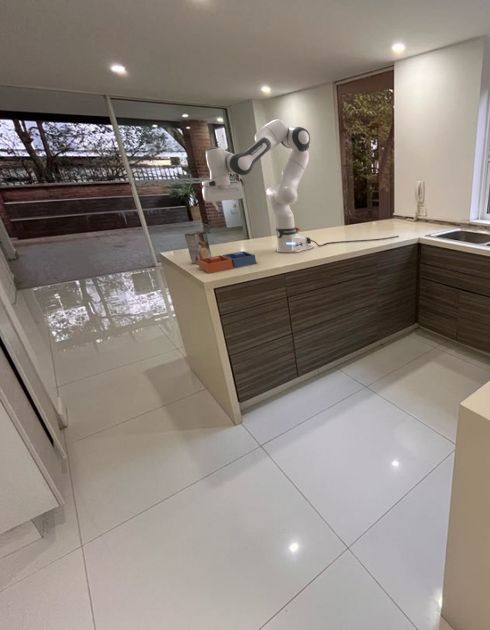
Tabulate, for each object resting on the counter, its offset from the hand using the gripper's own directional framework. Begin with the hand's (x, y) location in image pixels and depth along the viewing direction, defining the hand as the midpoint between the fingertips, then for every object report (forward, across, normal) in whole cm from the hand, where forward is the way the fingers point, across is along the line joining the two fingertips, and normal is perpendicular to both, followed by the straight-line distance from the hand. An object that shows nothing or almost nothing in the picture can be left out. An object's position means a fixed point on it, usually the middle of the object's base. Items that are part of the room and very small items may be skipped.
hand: (227, 209), depth 182 cm
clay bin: (+28, +16, +9) cm, 33 cm away
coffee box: (+28, +16, -10) cm, 33 cm away
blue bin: (+28, +3, +9) cm, 29 cm away
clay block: (+27, +16, +9) cm, 33 cm away
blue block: (+27, +3, +9) cm, 29 cm away
